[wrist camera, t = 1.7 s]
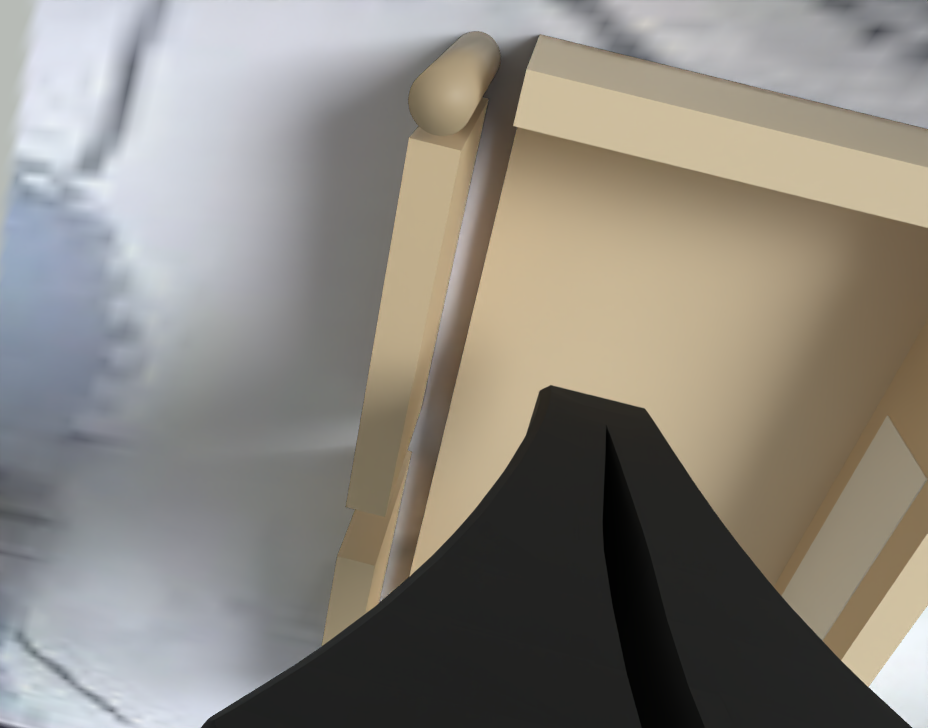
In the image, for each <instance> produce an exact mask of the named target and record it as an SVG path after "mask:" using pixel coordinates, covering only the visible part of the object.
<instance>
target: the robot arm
mask: <svg viewBox="0 0 928 728" xmlns="http://www.w3.org/2000/svg"><path fill="white" fill-rule="evenodd" d="M201 728H912V727H911V726H910V725H909V724H908V723H907V722H905V721H904V720H903V719H902V718H901V717H900V716H899V715H898V714H897V713H896V712H895V711H894V710H892V709H891V708H890V707H889V706H888V705H887V704H886V703H885V702H884V701H883V700H882V699H881V698H879V697H878V696H877V695H876V694H875V693H874V692H873V691H872V690H871V689H870V688H869V687H868V686H867V685H866V684H865V683H864V682H863V681H861V680H860V679H859V678H858V677H857V676H856V675H855V674H854V673H853V672H852V671H851V670H850V669H849V668H848V667H847V666H846V665H845V664H844V663H843V662H842V661H841V660H840V659H839V658H838V657H837V656H836V655H835V654H834V653H833V651H832V650H831V649H830V648H829V647H828V646H827V645H826V644H825V643H824V642H823V641H822V640H821V639H820V638H819V637H818V635H817V634H816V633H815V632H814V631H813V630H812V629H811V628H810V627H809V626H808V625H807V624H806V623H805V622H804V621H803V619H802V618H801V617H800V616H799V615H798V614H797V613H796V612H795V611H794V610H793V609H792V608H791V606H790V605H789V604H788V603H787V602H786V601H785V600H784V598H783V597H782V596H781V595H780V594H779V593H778V592H777V590H776V589H775V588H774V587H773V586H772V585H771V583H770V582H769V581H768V580H767V578H766V577H765V576H764V575H763V573H762V572H761V571H760V570H759V568H758V567H757V566H756V565H755V564H754V562H753V561H752V560H751V559H750V557H749V556H748V555H747V554H746V552H745V551H744V550H743V549H742V547H741V546H740V545H739V544H738V542H737V541H736V540H735V538H734V537H733V536H732V534H731V533H730V532H729V530H728V529H727V528H726V526H725V525H724V524H723V522H722V521H721V520H720V518H719V517H718V515H717V514H716V513H715V511H714V510H713V509H712V507H711V506H710V504H709V503H708V501H707V500H706V499H705V497H704V496H703V494H702V493H701V491H700V490H699V489H698V487H697V486H696V484H695V483H694V481H693V480H692V478H691V477H690V475H689V474H688V472H687V471H686V469H685V468H684V466H683V465H682V463H681V462H680V460H679V459H678V457H677V456H676V454H675V453H674V451H673V450H672V448H671V447H670V445H669V444H668V442H667V440H666V439H665V437H664V436H663V434H662V433H661V431H660V430H659V428H658V427H657V425H656V424H655V422H654V421H653V419H652V418H651V416H650V415H649V413H648V412H647V411H646V409H645V408H641V407H637V406H633V405H629V404H625V403H621V402H617V401H613V400H609V399H605V398H601V397H597V396H593V395H589V394H585V393H581V392H577V391H573V390H569V389H565V388H561V387H557V386H553V385H550V386H548V387H546V388H544V389H541V390H540V391H539V394H538V397H537V401H536V404H535V407H534V410H533V414H532V417H531V420H530V423H529V427H528V430H527V433H526V436H525V438H524V439H523V441H522V443H521V444H520V446H519V448H518V449H517V451H516V453H515V454H514V456H513V457H512V459H511V461H510V462H509V464H508V466H507V467H506V469H505V470H504V472H503V473H502V474H501V476H500V477H499V478H498V480H497V481H496V482H495V484H494V485H493V486H492V488H491V489H490V490H489V491H488V493H487V494H486V495H485V497H484V498H483V499H482V501H481V502H480V503H479V505H478V506H477V507H476V508H475V510H474V511H473V512H472V513H471V514H470V515H469V517H468V518H467V519H466V520H465V521H464V522H463V524H462V525H461V526H460V527H459V528H458V529H457V530H456V531H455V532H454V533H453V535H452V536H451V537H450V538H449V539H448V540H447V541H446V542H445V543H444V544H443V545H442V546H441V547H440V548H439V549H438V550H437V551H436V552H435V553H434V554H433V555H432V556H431V557H430V558H429V559H428V560H427V561H426V562H425V563H424V564H422V565H421V566H420V567H419V568H418V569H417V570H416V571H415V572H414V573H413V574H412V575H411V576H410V577H408V578H407V579H406V580H405V581H404V582H403V583H402V584H401V585H400V586H399V587H397V588H396V589H395V590H394V591H393V592H392V593H390V594H389V595H388V596H387V597H386V598H385V599H383V600H382V601H381V602H380V603H379V604H377V605H376V606H375V607H374V608H372V609H371V610H370V611H368V612H367V613H366V614H364V615H363V616H362V617H360V618H359V619H358V620H356V621H355V622H354V623H352V624H351V625H350V626H348V627H347V628H346V629H344V630H343V631H342V632H340V633H339V634H338V635H336V636H335V637H334V638H332V639H331V640H330V641H328V642H327V643H326V644H324V645H323V646H322V647H320V648H319V649H318V650H316V651H315V652H313V653H312V654H310V655H309V656H307V657H306V658H304V659H303V660H302V661H300V662H299V663H297V664H296V665H294V666H292V667H291V668H289V669H288V670H286V671H284V672H283V673H281V674H279V675H278V676H276V677H275V678H273V679H271V680H270V681H268V682H267V683H265V684H263V685H262V686H260V687H259V688H257V689H255V690H254V691H252V692H250V693H249V694H247V695H246V696H244V697H242V698H241V699H239V700H238V701H236V702H234V703H233V704H231V705H229V706H228V707H226V708H225V709H223V710H221V711H220V712H218V713H216V714H215V715H213V716H212V717H210V718H209V719H208V720H207V721H206V722H205V723H204V725H203V726H202V727H201Z"/></svg>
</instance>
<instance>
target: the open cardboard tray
mask: <svg viewBox="0 0 928 728" xmlns="http://www.w3.org/2000/svg"><path fill="white" fill-rule="evenodd" d="M513 126H516V127H517V130H516V134H515V138H514V142H513V146H512V150H511V155H510V159H509V163H508V167H507V171H506V175H505V180H504V184H503V188H502V192H501V196H500V200H499V205H498V209H497V213H496V217H495V221H494V225H493V230H492V234H491V238H490V242H489V246H488V250H487V255H486V259H485V263H484V267H483V271H482V275H481V279H480V284H479V288H478V292H477V296H476V300H475V304H474V309H473V313H472V317H471V321H470V325H469V329H468V334H467V338H466V342H465V346H464V350H463V354H462V359H461V363H460V367H459V371H458V375H457V379H456V384H455V388H454V392H453V396H452V400H451V404H450V409H449V413H448V417H447V421H446V425H445V429H444V434H443V438H442V442H441V446H440V450H439V454H438V459H437V463H436V467H435V471H434V475H433V479H432V484H431V488H430V492H429V496H428V500H427V504H426V509H425V513H424V517H423V521H422V525H421V529H420V534H419V538H418V542H417V546H416V550H415V554H414V559H413V563H412V567H411V571H410V575H409V577H410V576H411V575H412V574H413V573H414V572H415V571H416V570H417V569H418V568H419V567H420V566H421V565H422V564H424V563H425V562H426V561H427V560H428V559H429V558H430V557H431V556H432V555H433V554H434V553H435V552H436V551H437V550H438V549H439V548H440V547H441V546H442V545H443V544H444V543H445V542H446V541H447V540H448V539H449V538H450V537H451V536H452V535H453V533H454V532H455V531H456V530H457V529H458V528H459V527H460V526H461V525H462V524H463V522H464V521H465V520H466V519H467V518H468V517H469V515H470V514H471V513H472V512H473V511H474V510H475V508H476V507H477V506H478V505H479V503H480V502H481V501H482V499H483V498H484V497H485V495H486V494H487V493H488V491H489V490H490V489H491V488H492V486H493V485H494V484H495V482H496V481H497V480H498V478H499V477H500V476H501V474H502V473H503V472H504V470H505V469H506V467H507V466H508V464H509V462H510V461H511V459H512V457H513V456H514V454H515V453H516V451H517V449H518V448H519V446H520V444H521V443H522V441H523V439H524V438H525V436H526V433H527V430H528V427H529V423H530V420H531V417H532V414H533V410H534V407H535V404H536V401H537V397H538V394H539V391H540V390H541V389H544V388H546V387H548V386H550V385H553V386H557V387H561V388H565V389H569V390H573V391H577V392H581V393H585V394H589V395H593V396H597V397H601V398H605V399H609V400H613V401H617V402H621V403H625V404H629V405H633V406H637V407H641V408H645V409H646V411H647V412H648V413H649V415H650V416H651V418H652V419H653V421H654V422H655V424H656V425H657V427H658V428H659V430H660V431H661V433H662V434H663V436H664V437H665V439H666V440H667V442H668V444H669V445H670V447H671V448H672V450H673V451H674V453H675V454H676V456H677V457H678V459H679V460H680V462H681V463H682V465H683V466H684V468H685V469H686V471H687V472H688V474H689V475H690V477H691V478H692V480H693V481H694V483H695V484H696V486H697V487H698V489H699V490H700V491H701V493H702V494H703V496H704V497H705V499H706V500H707V501H708V503H709V504H710V506H711V507H712V509H713V510H714V511H715V513H716V514H717V515H718V517H719V518H720V520H721V521H722V522H723V524H724V525H725V526H726V528H727V529H728V530H729V532H730V533H731V534H732V536H733V537H734V538H735V540H736V541H737V542H738V544H739V545H740V546H741V547H742V549H743V550H744V551H745V552H746V554H747V555H748V556H749V557H750V559H751V560H752V561H753V562H754V564H755V565H756V566H757V567H758V568H759V570H760V571H761V572H762V573H763V575H764V576H765V577H766V578H767V580H768V581H769V582H770V583H771V585H772V586H773V587H774V588H775V589H776V590H777V592H778V593H779V594H780V595H781V596H782V597H783V598H784V600H785V601H786V602H787V603H788V604H789V605H790V606H791V608H792V609H793V610H794V611H795V612H796V613H797V614H798V615H799V616H800V617H801V618H802V619H803V621H804V622H805V623H806V624H807V625H808V626H809V627H810V628H811V629H812V630H813V631H814V632H815V633H816V634H817V635H818V637H819V638H820V639H821V640H822V641H823V642H824V643H825V644H826V645H827V646H828V647H829V648H830V649H831V650H832V651H833V653H834V654H835V655H836V656H837V657H838V658H839V659H840V660H841V661H842V662H843V663H844V664H845V665H846V666H847V667H848V668H849V669H850V670H851V671H852V672H853V673H854V674H855V675H856V676H857V677H858V678H859V679H860V680H861V681H863V682H864V683H865V684H866V685H867V686H868V687H869V685H870V684H871V683H872V681H873V680H874V678H875V677H876V676H877V674H878V673H879V672H880V670H881V669H882V667H883V666H884V665H885V663H886V662H887V661H888V659H889V658H890V656H891V655H892V654H893V652H894V651H895V650H896V648H897V647H898V645H899V644H900V643H901V641H902V640H903V639H904V637H905V636H906V634H907V633H908V632H909V630H910V629H911V628H912V626H913V625H914V623H915V622H916V621H917V619H918V618H919V617H920V615H921V614H922V612H923V611H924V610H925V608H926V607H927V606H928V129H925V128H921V127H917V126H913V125H909V124H904V123H900V122H896V121H892V120H888V119H884V118H880V117H876V116H872V115H868V114H864V113H859V112H855V111H851V110H847V109H843V108H839V107H835V106H831V105H827V104H823V103H819V102H815V101H810V100H806V99H802V98H798V97H794V96H790V95H786V94H782V93H778V92H774V91H770V90H765V89H761V88H757V87H753V86H749V85H745V84H741V83H737V82H733V81H729V80H725V79H721V78H716V77H712V76H708V75H704V74H700V73H696V72H692V71H688V70H684V69H680V68H676V67H671V66H667V65H663V64H659V63H655V62H651V61H647V60H643V59H639V58H635V57H631V56H626V55H622V54H618V53H614V52H610V51H606V50H602V49H598V48H594V47H590V46H586V45H582V44H577V43H573V42H569V41H565V40H561V39H557V38H553V37H549V36H545V35H541V34H540V35H539V38H538V41H537V43H536V46H535V48H534V51H533V54H532V56H531V59H530V61H529V64H528V67H527V69H526V73H525V78H524V82H523V86H522V90H521V94H520V99H519V103H518V107H517V111H516V116H515V120H514V124H513Z"/></svg>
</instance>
